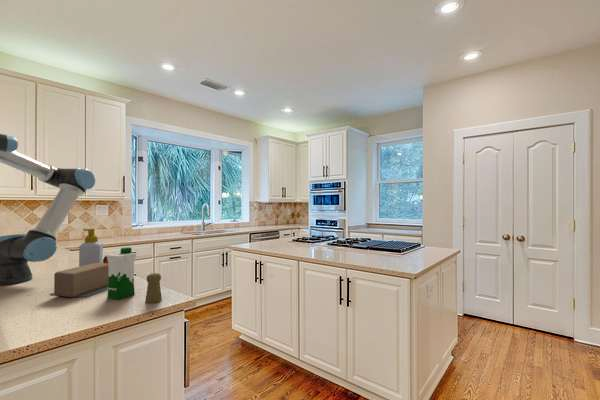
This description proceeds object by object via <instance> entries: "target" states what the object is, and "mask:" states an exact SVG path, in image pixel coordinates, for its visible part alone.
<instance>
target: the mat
mask: <svg viewBox="0 0 600 400" xmlns="http://www.w3.org/2000/svg"><path fill="white" fill-rule="evenodd" d="M104 291H108V286H105V287H102V288H99V289H96V290H93V291H90V292H87V293H84V294H81V295H78V296H75V297H77V298H89V297H92V296H94V295H96V294H100V293H103V292H104ZM49 295H50V296H55V294H54V292H51V293H49Z"/></svg>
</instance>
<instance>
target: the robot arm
mask: <svg viewBox="0 0 600 400" xmlns="http://www.w3.org/2000/svg"><path fill="white" fill-rule="evenodd" d="M18 147H19V141H18V139H17V138H16V137H14V136H12V135H8V134H2V133H0V163H2V164H4V165H7V166H9V167H12V168H13V169H16V170H19V171H21V172H22V173H23V172H24V173H25V174H28V175H31V176H33V177H35V178H37V179H38V180H39V182H43V183H45V184H48V185H50V186H52V187H55V188H58V189H59V191H58V192H57V194H56V196H55V197H54V198H53V200H52V201H51V203H50V205H49V206H48V207H47V209H46V211H45V212H44V214H43V215H42V217H41V218H40V220H39V221H38V223H37V225H36V226H35V227H34V228H32V229H29V230H28V231H27V233H18V234H17V233H16V234H8V235H7V234H6V235H0V286H8V285H13V284H14V285H15V284H20V283H25V282H27V281H31V280H32V279H33V273H32V271H31V269H30V266H29V264H28V262H29V263H30V262H31V263H36V262H39V263H40V262H44V261H47V260H49V259H50V258H52V257H53V256H54V255H55V253H56V251H57V248H58V245H57V242H56V241H57V236H56V234H57V232H58V231H59V229H60V228H61V227H62V224H63V222H64V221H65V220H66V218H67V216H68V214H69V212H70V211H71V209H72V208H73V206H74V205H75V203H76V201H77V199H78V198H79V197H81V196H83V195H85V192H86V191H87V190H91V189H93V187H94V186H95V184H96V178H95V174H94V173H93V171H91V170H90V169H88V168H81V167H78V168H60V167H55V166H53V165H50V164H48V165H46V164H44V163H42V162H39V161H38V160H35V159H33V158H31V157H28V156H27V155H25V154H23V153H20V152H17V150H18Z"/></svg>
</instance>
